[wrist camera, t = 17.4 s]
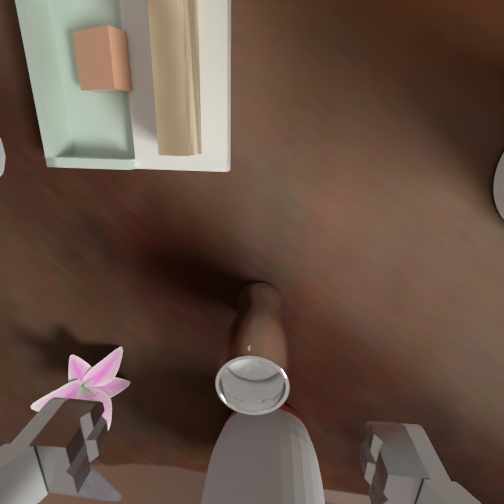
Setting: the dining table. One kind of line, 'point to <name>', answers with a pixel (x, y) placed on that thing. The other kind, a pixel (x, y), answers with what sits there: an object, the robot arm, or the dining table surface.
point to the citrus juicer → (264, 462)
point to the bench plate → (211, 88)
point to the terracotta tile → (102, 59)
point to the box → (74, 87)
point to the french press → (2, 158)
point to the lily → (91, 383)
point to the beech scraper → (176, 75)
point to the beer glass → (255, 354)
